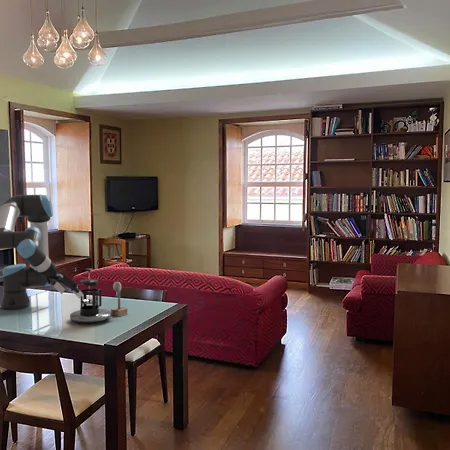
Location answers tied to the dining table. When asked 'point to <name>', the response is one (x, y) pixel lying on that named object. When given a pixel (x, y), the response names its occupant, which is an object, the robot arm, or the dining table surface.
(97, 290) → the french press
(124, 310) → the dial gauge stand
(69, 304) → the dining table surface
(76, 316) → the disc
